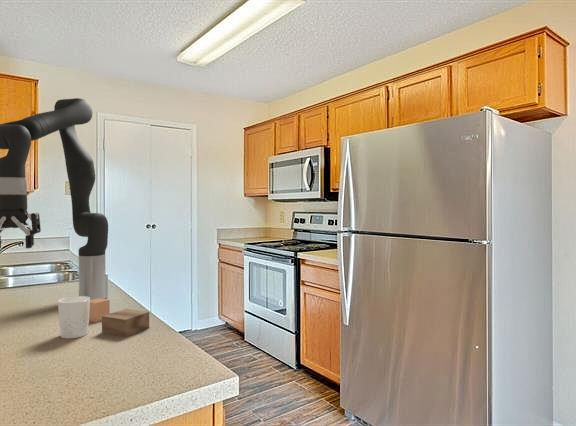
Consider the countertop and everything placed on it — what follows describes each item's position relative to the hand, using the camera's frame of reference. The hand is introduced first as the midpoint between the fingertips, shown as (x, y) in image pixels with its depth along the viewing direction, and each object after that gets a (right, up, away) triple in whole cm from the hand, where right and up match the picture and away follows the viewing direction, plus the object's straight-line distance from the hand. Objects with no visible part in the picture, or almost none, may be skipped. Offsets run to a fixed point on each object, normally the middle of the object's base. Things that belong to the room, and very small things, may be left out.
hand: (13, 248), depth 116 cm
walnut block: (+34, -24, -2) cm, 42 cm away
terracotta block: (+20, -23, +9) cm, 32 cm away
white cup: (+21, -24, -6) cm, 33 cm away
